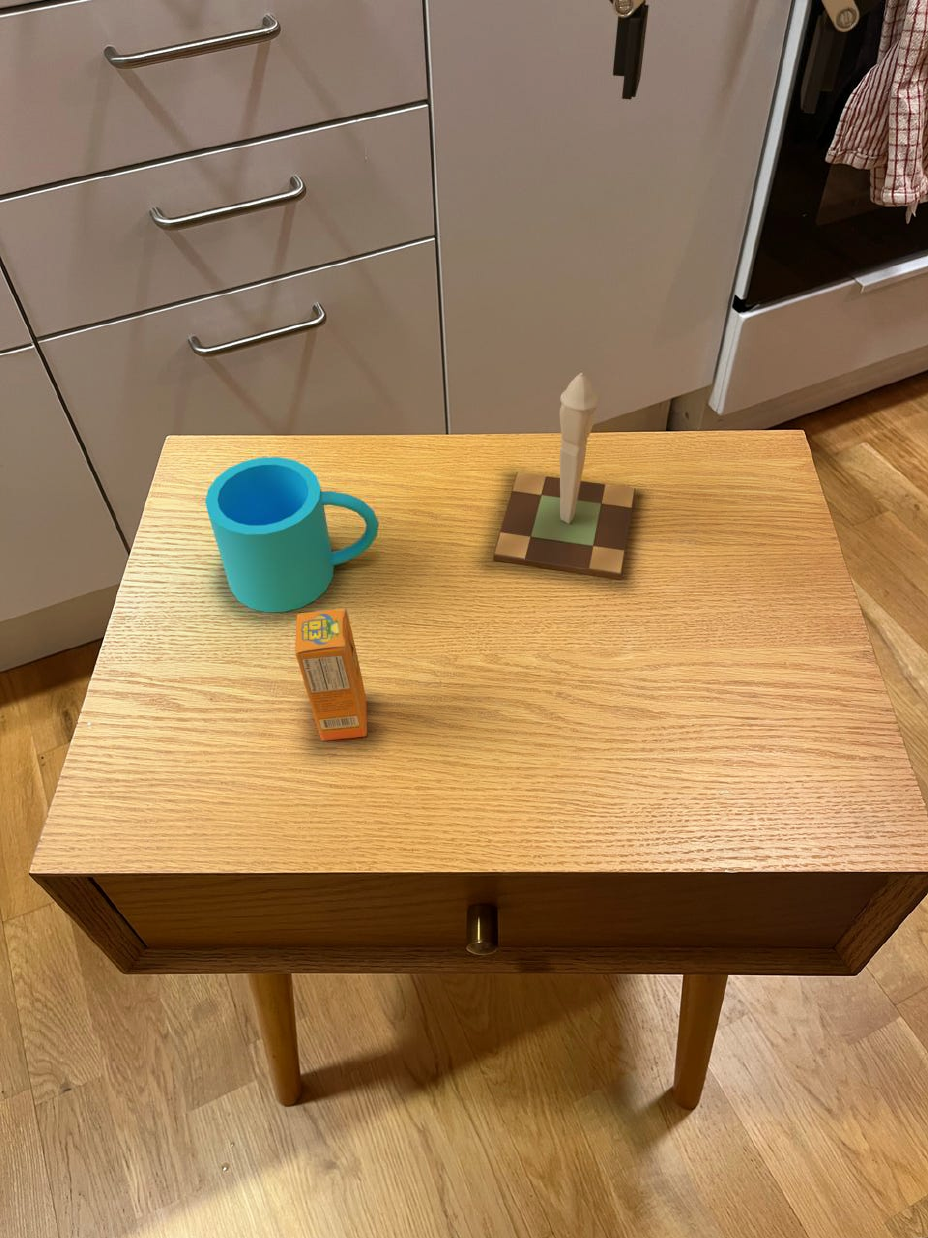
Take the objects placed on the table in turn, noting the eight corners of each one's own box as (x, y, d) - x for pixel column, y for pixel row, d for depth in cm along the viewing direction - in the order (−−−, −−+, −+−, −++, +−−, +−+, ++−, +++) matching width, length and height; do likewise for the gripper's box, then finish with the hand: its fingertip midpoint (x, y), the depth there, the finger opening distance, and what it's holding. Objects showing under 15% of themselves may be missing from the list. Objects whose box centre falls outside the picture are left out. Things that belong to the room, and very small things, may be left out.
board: (634, 493, 80) (636, 487, 79) (620, 580, 74) (621, 573, 73) (516, 476, 81) (516, 470, 81) (492, 560, 75) (492, 554, 75)
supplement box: (316, 703, 66) (295, 608, 59) (366, 699, 67) (351, 604, 59) (316, 744, 64) (293, 650, 57) (367, 739, 64) (352, 646, 57)
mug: (228, 619, 72) (204, 541, 65) (228, 542, 77) (205, 463, 71) (388, 598, 73) (379, 519, 66) (377, 524, 78) (368, 445, 72)
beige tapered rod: (561, 505, 78) (574, 357, 67) (590, 517, 77) (607, 370, 66) (545, 523, 77) (555, 375, 66) (574, 536, 76) (589, 388, 65)
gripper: (575, -330, 39) (552, 112, 52) (1028, -326, 36) (884, 138, 49) (600, -350, 44) (572, 59, 57) (1002, -348, 41) (876, 81, 54)
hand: (717, 96), depth 53 cm, fingers open, 9 cm apart
